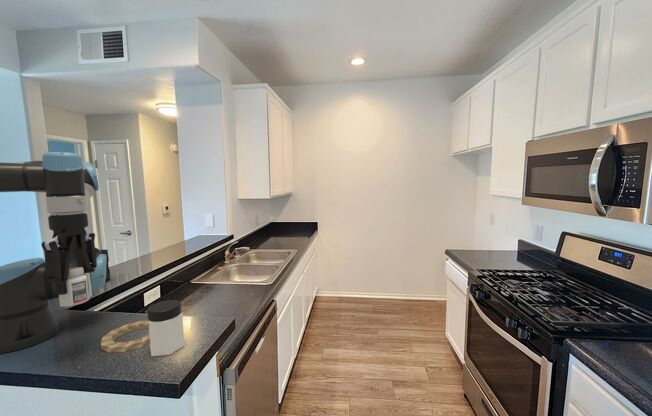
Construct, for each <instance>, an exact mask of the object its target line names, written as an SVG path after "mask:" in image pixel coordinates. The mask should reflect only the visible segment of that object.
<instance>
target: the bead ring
mask: <svg viewBox="0 0 652 416" xmlns="http://www.w3.org/2000/svg"><path fill="white" fill-rule="evenodd" d="M141 329H143V330H144V329H149V327H148V320H140V321H139V320H138V321H136V322H131V323H128V324H124V325H122V326H119V327H117V328H115V329H112V330H110V331H109V332H108V333H107V334H106V335H104V336H102V337H101V342H100V349H101V350H102V351H103V352H107V353H109V354H114V353H126V352H129V351H132V350H137V349H140V348H143V347H145V346H147V345H150V340H149V334H147V335H145V336H142V337H141V338H137V339H134V340H130V341H125V342H124V341H122V342H116V341H114V340H116V339H117V338H118V337H121V336H122V335H124V334H126V333H129V332H132V331H136V330H141Z"/></svg>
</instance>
